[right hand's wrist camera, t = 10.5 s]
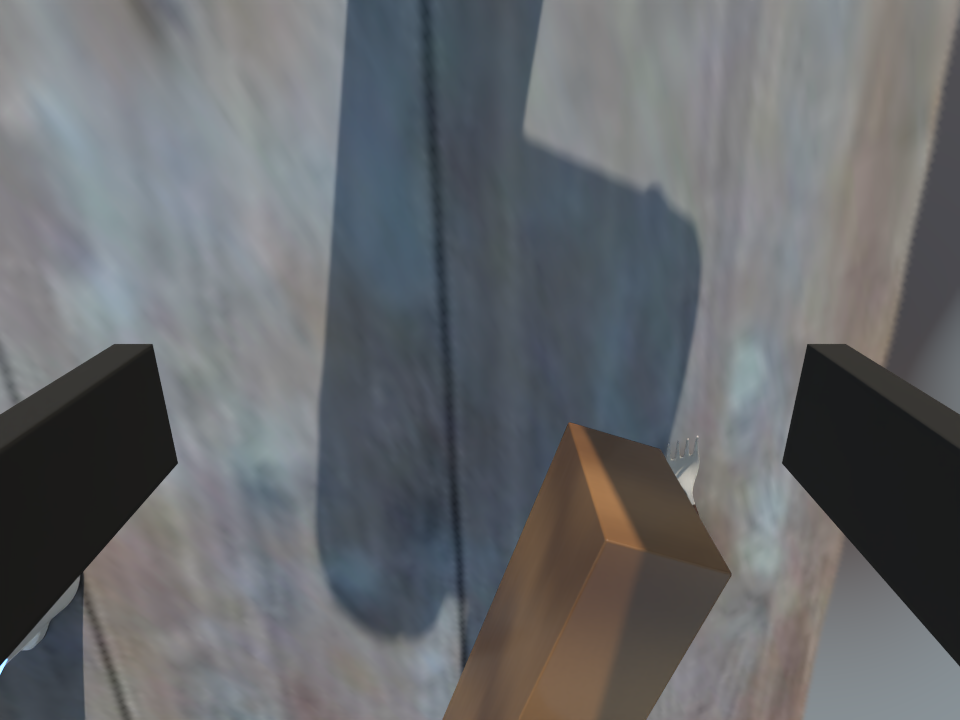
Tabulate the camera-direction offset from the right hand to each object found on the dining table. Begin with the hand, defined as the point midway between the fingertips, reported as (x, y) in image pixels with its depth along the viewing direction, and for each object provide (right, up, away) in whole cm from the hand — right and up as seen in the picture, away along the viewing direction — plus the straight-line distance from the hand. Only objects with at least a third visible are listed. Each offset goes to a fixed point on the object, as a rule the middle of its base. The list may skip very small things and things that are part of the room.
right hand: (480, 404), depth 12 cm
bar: (+3, -14, +22) cm, 26 cm away
